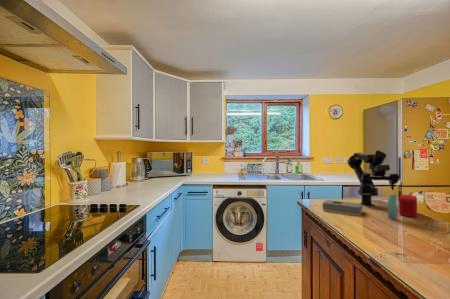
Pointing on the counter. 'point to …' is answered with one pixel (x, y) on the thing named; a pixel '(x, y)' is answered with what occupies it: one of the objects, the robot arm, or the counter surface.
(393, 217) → the peg
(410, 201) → the decorative item
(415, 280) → the counter surface
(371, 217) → the counter surface
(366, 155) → the robot arm
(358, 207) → the socket block
